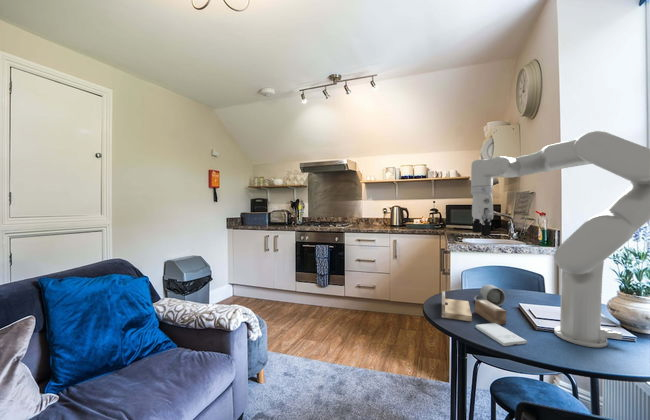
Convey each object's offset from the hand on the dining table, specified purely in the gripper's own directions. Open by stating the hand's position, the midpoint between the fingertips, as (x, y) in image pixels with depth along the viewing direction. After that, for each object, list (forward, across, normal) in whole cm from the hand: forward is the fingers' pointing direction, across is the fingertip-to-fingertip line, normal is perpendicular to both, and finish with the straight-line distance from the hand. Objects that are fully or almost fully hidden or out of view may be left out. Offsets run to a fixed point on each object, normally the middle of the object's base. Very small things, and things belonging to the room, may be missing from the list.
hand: (481, 233), depth 112 cm
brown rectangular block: (+31, -8, -1) cm, 32 cm away
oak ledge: (+31, -4, +10) cm, 33 cm away
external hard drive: (+32, -22, +1) cm, 38 cm away
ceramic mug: (+31, +8, -6) cm, 33 cm away
